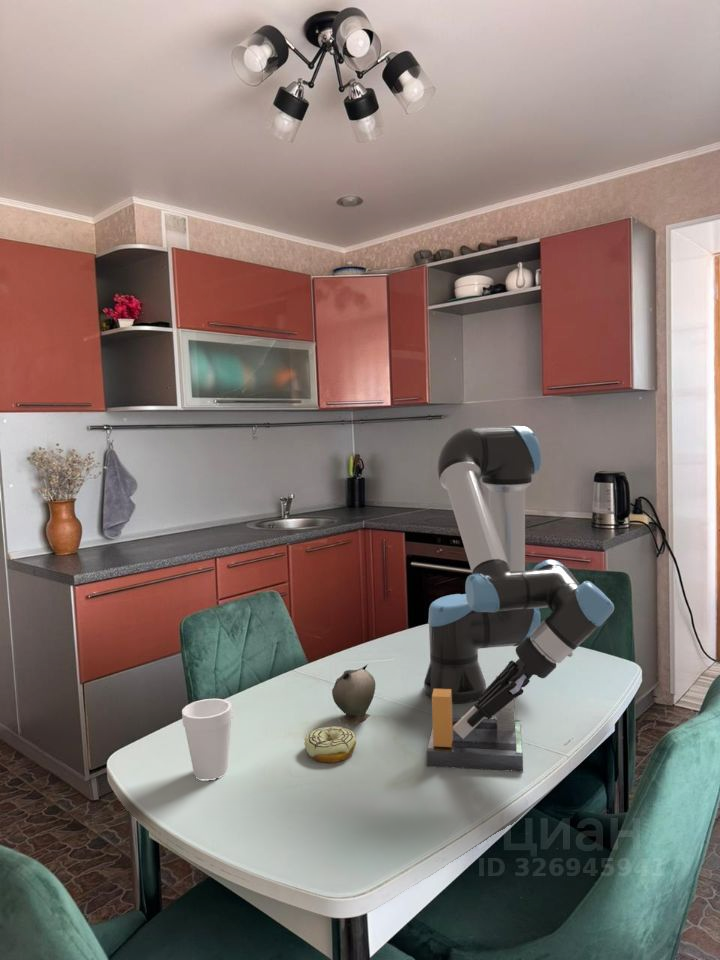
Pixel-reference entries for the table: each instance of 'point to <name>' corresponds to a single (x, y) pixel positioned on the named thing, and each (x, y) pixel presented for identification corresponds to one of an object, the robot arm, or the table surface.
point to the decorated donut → (330, 744)
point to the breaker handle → (442, 717)
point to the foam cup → (208, 736)
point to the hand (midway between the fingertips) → (458, 732)
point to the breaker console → (483, 745)
